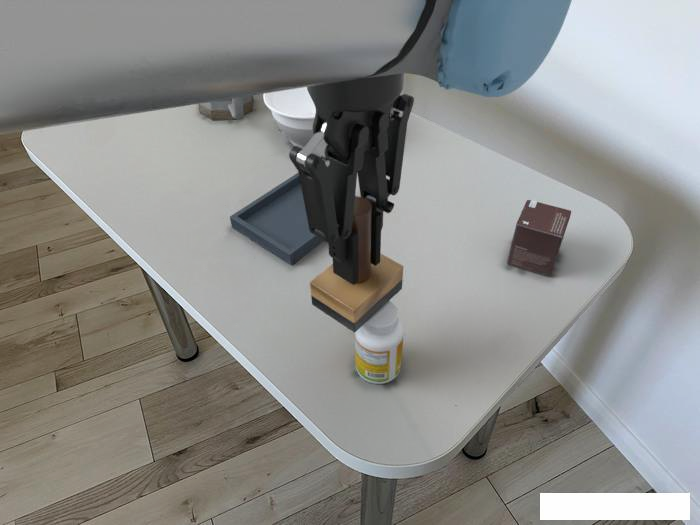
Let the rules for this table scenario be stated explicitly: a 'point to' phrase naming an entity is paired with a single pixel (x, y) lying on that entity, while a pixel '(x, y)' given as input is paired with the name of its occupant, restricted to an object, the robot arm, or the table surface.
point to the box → (538, 237)
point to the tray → (278, 222)
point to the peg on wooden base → (373, 281)
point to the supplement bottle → (380, 346)
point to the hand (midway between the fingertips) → (356, 266)
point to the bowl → (293, 113)
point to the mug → (227, 108)
